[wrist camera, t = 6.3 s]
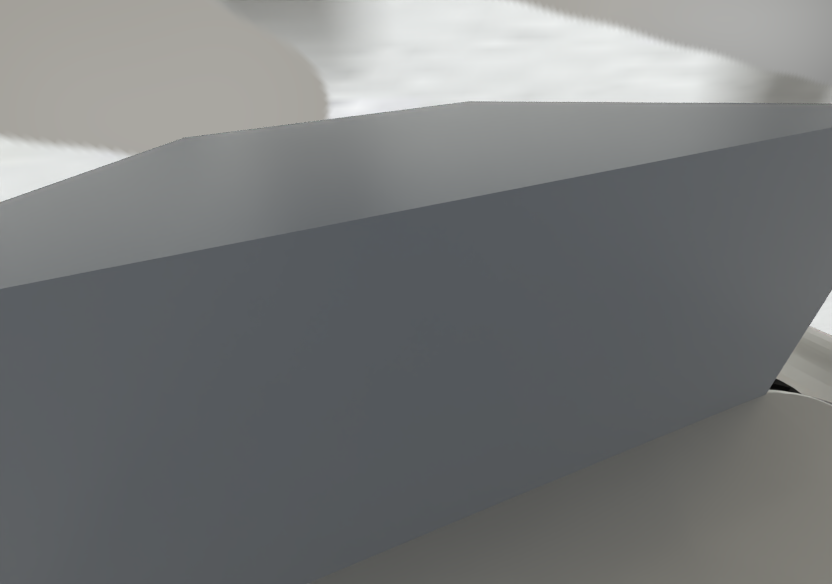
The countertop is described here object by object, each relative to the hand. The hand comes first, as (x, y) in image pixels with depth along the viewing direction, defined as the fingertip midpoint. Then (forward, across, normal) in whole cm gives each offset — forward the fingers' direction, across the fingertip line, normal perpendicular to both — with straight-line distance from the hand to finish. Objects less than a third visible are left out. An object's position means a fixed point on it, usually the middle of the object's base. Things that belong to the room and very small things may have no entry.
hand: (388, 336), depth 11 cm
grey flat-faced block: (+2, 0, 0) cm, 2 cm away
